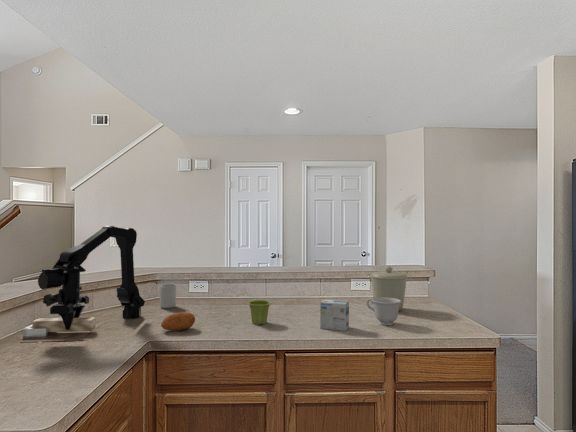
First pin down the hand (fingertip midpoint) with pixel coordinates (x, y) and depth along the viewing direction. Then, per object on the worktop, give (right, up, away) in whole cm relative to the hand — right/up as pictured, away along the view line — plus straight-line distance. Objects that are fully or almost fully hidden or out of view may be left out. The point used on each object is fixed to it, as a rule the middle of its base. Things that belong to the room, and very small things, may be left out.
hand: (70, 327), depth 142 cm
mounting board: (-5, -4, +5) cm, 8 cm away
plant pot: (+68, -4, +22) cm, 71 cm away
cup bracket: (-10, -2, -1) cm, 11 cm away
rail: (-2, -1, 0) cm, 2 cm away
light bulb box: (+98, -5, +15) cm, 100 cm away
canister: (+129, -5, +48) cm, 138 cm away
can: (+20, -5, +50) cm, 54 cm away
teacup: (+120, -5, +22) cm, 122 cm away
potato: (+37, -4, +10) cm, 38 cm away
